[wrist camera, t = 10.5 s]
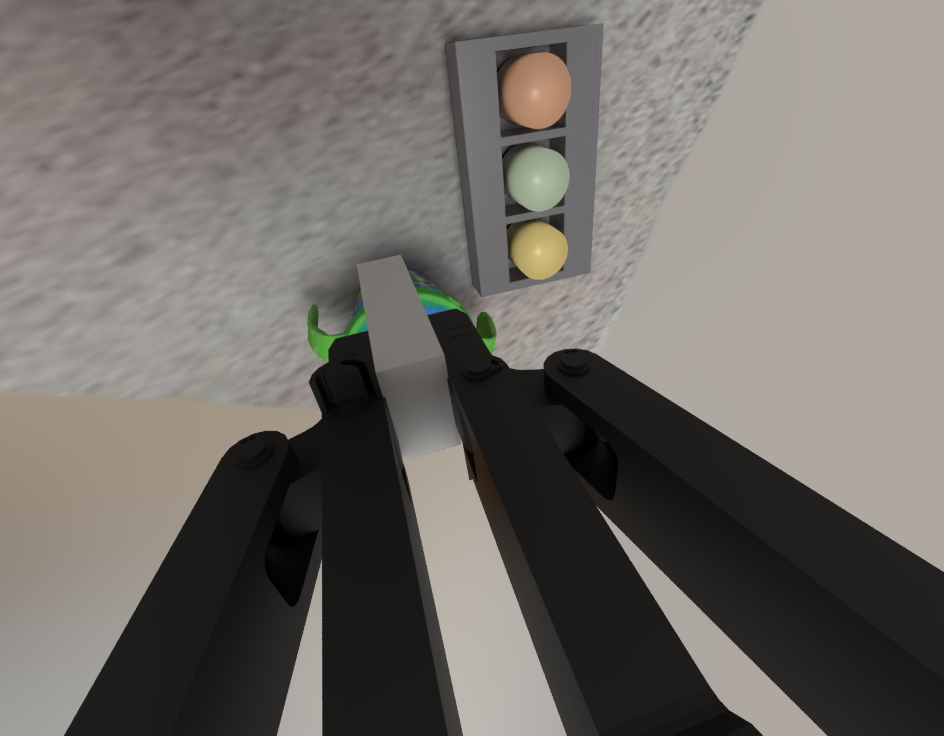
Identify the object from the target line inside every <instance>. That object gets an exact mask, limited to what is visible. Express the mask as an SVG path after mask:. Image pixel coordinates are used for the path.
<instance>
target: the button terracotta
mask: <svg viewBox="0 0 944 736" xmlns="http://www.w3.org/2000/svg"><path fill="white" fill-rule="evenodd" d="M497 85H498V101H499V113H500V115H501V116H502V117H503V118H504V119H505V120H507V121H508V122H510V123H513V124H517V125H521V126H525V127H529V128H533V129H543V128H547V127H549V126H551V125H553V124H554V123H555V122H557V121H558V120H559V119H560V117H561V116H562V115H563V113H564V112H565V110H566V108H567V106H568V103H569V100H570V96H571V78H570V74H569V71H568V69H567V67H566V65H565V64H564V62H563V61H562V60H561V59H560V58H559V57H557V56H556V55H554V54H551V53H547V52H541V53H532V54H523V55H517V56H514V57H512V58H510V59H509V60H507V61H506V62H505V63H504V64H503V65H502V66H501V68H500V69H499V71H498V73H497Z"/></svg>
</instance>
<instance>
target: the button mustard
mask: <svg viewBox="0 0 944 736" xmlns="http://www.w3.org/2000/svg"><path fill="white" fill-rule="evenodd" d="M507 248H508V258H509V259H510V260H511V261H512V262H513V263H514V264H515V265H516V266H517V267H518V268H519V269H520V270H521V271H522V272H523V273H524V274H525V275H526V276H528V277H529V278H531V279H535V280H542V279H546V278H549V277H551V276H553V275H554V274H556V273H557V272H558V271H559V270H560V269H561V267H562V266H563V264H564V263H565V260H566V258H567V254H568V244H567V240H566V238H565V236H564V235H563V234H562V233H561V232H560V231H558V230H557V229H555V228H554V227H552V226H551V225H549V224H548V223H546V222H545V221H543V220H542V219H540V218H535V219H530V220H525V221H520V222H515V223H512V224H511V225H510V226H509V228H508V229H507Z"/></svg>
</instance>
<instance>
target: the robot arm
mask: <svg viewBox="0 0 944 736" xmlns="http://www.w3.org/2000/svg"><path fill="white" fill-rule="evenodd" d="M356 265H357V271H358V276H359V282H360V287H361V293H362V299H363V304H364V310H365V316H366V321H367V327H368V331H364V332H360V333H356V334H352V335H348V336H343V337H339V338H335V340H334V341H333V343H332V345H331V346H330V348H329V349H328V360H329V362H328V363H326V364H324V365H323V366H321V367H319V368H318V369H317V370H316V371H315V372H314V373H313V374H312V376H311V378H310V381H309V384H310V386H311V389H312V391H313V394H314V396H315V398H316V401H317V403H318V405H319V408H320V410H321V412H322V419H321V420H320V421H319V422H318V423H317V424H315V425H314V426H313V427H312V428H310V429H308V430H306V431H305V432H303V433H301V434H299V435H297V436H295V437H293V438H291V439H289V440H288V439H287V437H286V436H285V435H284V434H282V433H280V432H278V431H263V432H259V433H255V434H252V435H250V436H248V437H246V438H244V439H242V440H240V441H239V442H237V443H236V444H235V445H233V446H232V447H231V448H229V450H228V451H227V452H226V453H225V455H224V456H223V457H222V458H221V460H220V462H219V464H218V465H217V467H216V469H215V471H214V472H213V474H212V476H211V478H210V480H209V481H208V483H207V485H206V486H205V488H204V490H203V492H202V494H201V495H200V497H199V499H198V501H197V502H196V504H195V506H194V508H193V509H192V511H191V513H190V515H189V516H188V518H187V520H186V522H185V524H184V525H183V527H182V529H181V531H180V532H179V534H178V536H177V538H176V539H175V541H174V543H173V545H172V546H171V548H170V550H169V552H168V554H167V555H166V557H165V559H164V560H163V562H162V564H161V566H160V568H159V569H158V571H157V573H156V575H155V576H154V578H153V580H152V582H151V583H150V585H149V587H148V589H147V590H146V593H145V594H144V596H143V597H142V599H141V601H140V603H139V604H138V606H137V608H136V610H135V612H134V613H133V615H132V617H131V619H130V620H129V622H128V624H127V626H126V627H125V629H124V631H123V633H122V634H121V636H120V638H119V640H118V641H117V643H116V645H115V647H114V649H113V650H112V652H111V654H110V656H109V657H108V659H107V661H106V663H105V664H104V666H103V668H102V670H101V672H100V673H99V675H98V677H97V679H96V680H95V682H94V684H93V686H92V687H91V689H90V691H89V693H88V694H87V696H86V698H85V700H84V701H83V703H82V705H81V707H80V708H79V710H78V712H77V714H76V716H75V717H74V719H73V721H72V723H71V724H70V726H69V728H68V730H67V731H66V733H65V735H64V736H277V732H278V728H279V724H280V721H281V717H282V713H283V709H284V705H285V701H286V697H287V693H288V689H289V685H290V681H291V677H292V673H293V669H294V665H295V662H296V658H297V654H298V650H299V646H300V642H301V638H302V634H303V630H304V626H305V622H306V618H307V614H308V611H309V607H310V603H311V599H312V595H313V591H314V587H315V583H316V579H317V576H318V572H319V568H320V564H321V560H322V699H323V700H322V723H323V724H322V726H323V727H322V730H323V731H322V735H323V736H463V733H462V728H461V724H460V719H459V715H458V710H457V705H456V700H455V696H454V692H453V687H452V682H451V677H450V673H449V668H448V663H447V659H446V654H445V649H444V645H443V640H442V635H441V631H440V626H439V621H438V617H437V612H436V607H435V603H434V598H433V594H432V589H431V584H430V580H429V575H428V570H427V565H426V561H425V556H424V551H423V547H422V542H421V538H420V533H419V528H418V524H417V519H416V514H415V509H414V505H413V500H412V496H411V491H410V486H409V482H408V477H407V474H406V470H405V467H404V464H403V461H405V460H408V459H412V458H415V457H418V456H422V455H425V454H429V453H432V452H435V451H439V450H442V449H446V448H449V447H452V446H456V445H459V444H461V441H460V438H461V440H462V443H463V448H464V453H465V459H466V464H467V469H468V475H469V480H472V479H473V481H474V484H475V486H476V489H477V492H478V494H479V497H480V500H481V502H482V505H483V508H484V511H485V514H486V516H487V519H488V522H489V524H490V527H491V530H492V532H493V535H494V538H495V541H496V543H497V546H498V549H499V552H500V554H501V557H502V560H503V562H504V565H505V568H506V570H507V574H508V576H509V579H510V582H511V584H512V587H513V590H514V593H515V595H516V598H517V601H518V603H519V606H520V609H521V611H522V614H523V617H524V620H525V622H526V625H527V628H528V631H529V633H530V636H531V639H532V642H533V644H534V647H535V650H536V653H537V655H538V658H539V661H540V663H541V666H542V669H543V671H544V674H545V677H546V680H547V683H548V685H549V688H550V690H551V693H552V696H553V699H554V702H555V704H556V707H557V710H558V713H559V715H560V718H561V721H562V723H563V726H564V729H565V732H566V734H567V736H763V735H762V734H761V733H760V732H759V731H758V730H757V729H756V728H755V727H754V726H753V725H752V724H751V723H749V722H748V721H746V720H744V719H742V718H741V717H739V716H738V715H736V714H734V713H733V712H731V711H729V710H728V709H727V708H726V707H725V706H724V705H723V703H722V702H721V701H720V700H719V699H718V697H717V696H716V695H715V693H714V692H713V691H712V689H711V688H710V686H709V684H708V683H707V682H706V680H705V678H704V676H703V675H702V673H701V672H700V670H699V669H698V667H697V665H696V664H695V662H694V661H693V659H692V658H691V656H690V654H689V653H688V651H687V650H686V648H685V647H684V645H683V643H682V642H681V640H680V638H679V637H678V635H677V634H676V632H675V630H674V629H673V627H672V626H671V624H670V623H669V621H668V619H667V618H666V616H665V615H664V613H663V611H662V610H661V608H660V607H659V605H658V603H657V602H656V600H655V599H654V597H653V595H652V594H651V592H650V591H649V589H648V588H647V586H646V584H645V583H644V581H643V580H642V578H641V576H640V575H639V573H638V572H637V570H636V568H635V567H634V565H633V564H632V562H631V561H630V559H629V557H628V556H627V554H626V553H625V551H624V549H623V548H622V546H621V545H620V543H619V541H618V540H617V538H616V537H615V535H614V534H613V532H612V530H611V529H610V527H609V526H608V524H607V522H606V521H605V519H604V518H603V516H602V514H601V513H600V511H599V510H598V508H599V509H600V510H601V511H602V512H603V513H604V514H605V515H606V516H607V517H608V518H609V519H610V520H611V521H612V522H613V523H614V524H615V525H616V526H617V527H618V528H619V529H620V530H621V531H622V532H623V533H624V534H625V535H626V536H627V537H628V538H629V539H630V540H631V541H632V542H633V543H634V544H635V545H636V546H637V547H638V548H639V549H640V550H641V551H642V552H643V553H644V554H645V555H646V556H647V557H648V558H649V559H650V560H651V561H652V562H653V563H654V564H655V565H657V566H658V568H659V569H660V570H662V572H663V573H664V574H665V575H666V576H667V577H669V578H670V580H671V581H672V582H674V584H675V585H676V586H677V587H679V589H681V590H682V591H683V592H684V593H685V594H686V595H687V596H688V597H689V598H690V599H691V600H692V601H693V602H694V603H695V604H696V605H697V606H698V607H699V608H700V609H701V610H702V611H703V612H704V613H705V614H706V615H707V616H708V617H709V618H710V619H711V620H712V621H713V622H714V623H715V624H716V625H717V626H718V627H719V628H720V629H721V630H722V631H723V632H724V633H725V634H726V635H727V636H728V637H729V638H730V639H731V640H732V641H733V642H734V643H735V644H736V645H737V646H738V647H739V648H740V649H741V650H742V651H743V652H744V653H745V654H746V655H747V656H748V657H749V658H750V659H751V660H752V661H753V662H754V663H755V664H756V665H757V666H758V667H759V668H760V669H761V670H762V671H763V672H764V673H765V674H766V675H767V676H768V677H769V678H770V679H771V680H772V681H773V682H774V683H775V684H776V685H777V686H778V687H779V688H780V689H781V690H782V691H783V692H784V693H785V694H786V695H787V696H788V697H789V698H790V699H791V700H792V701H793V702H794V703H795V704H796V705H797V706H798V707H799V708H800V709H801V710H802V711H804V713H805V714H806V715H807V716H808V717H809V718H810V719H811V720H813V722H814V723H815V724H817V726H818V727H819V728H820V729H822V731H823V732H824V733H825V734H826V735H827V736H944V572H943V571H941V570H939V569H938V568H936V567H935V566H933V565H932V564H930V563H928V562H927V561H925V560H924V559H922V558H920V557H919V556H917V555H916V554H914V553H912V552H911V551H909V550H907V549H906V548H904V547H903V546H901V545H900V544H898V543H896V542H895V541H893V540H892V539H890V538H889V537H887V536H885V535H884V534H882V533H881V532H879V531H877V530H875V529H874V528H873V527H871V526H869V525H868V524H866V523H865V522H863V521H861V520H860V519H858V518H857V517H855V516H853V515H852V514H850V513H849V512H847V511H845V510H844V509H842V508H841V507H839V506H837V505H836V504H834V503H833V502H831V501H830V500H828V499H826V498H824V497H823V496H822V495H820V494H818V493H817V492H815V491H814V490H812V489H810V488H809V487H807V486H806V485H804V484H802V483H801V482H799V481H798V480H796V479H794V478H793V477H791V476H790V475H788V474H786V473H785V472H783V471H782V470H780V469H779V468H777V467H775V466H774V465H772V464H770V463H769V462H767V461H766V460H764V459H763V458H761V457H759V456H758V455H756V454H755V453H753V452H751V451H750V450H748V449H747V448H745V447H743V446H742V445H740V444H738V443H737V442H736V441H734V440H732V439H731V438H729V437H728V436H726V435H724V434H723V433H721V432H720V431H718V430H716V429H715V428H713V427H712V426H710V425H708V424H707V423H705V422H704V421H702V420H700V419H699V418H697V417H696V416H694V415H692V414H691V413H689V412H688V411H686V410H684V409H683V408H681V407H680V406H678V405H677V404H675V403H673V402H672V401H670V400H669V399H667V398H665V397H664V396H662V395H660V394H659V393H657V392H656V391H654V390H653V389H651V388H649V387H648V386H646V385H645V384H643V383H641V382H640V381H638V380H637V379H635V378H634V377H632V376H630V375H628V374H627V373H626V372H624V371H622V370H621V369H619V368H618V367H616V366H614V365H613V364H611V363H610V362H608V361H606V360H605V359H603V358H602V357H600V356H598V355H597V354H595V353H592V352H590V351H588V350H582V349H564V350H561V351H557V352H554V353H553V354H551V355H550V356H548V357H547V359H546V360H545V362H544V369H538V370H516V369H511V368H509V367H508V365H507V364H506V363H505V362H504V361H503V360H502V359H501V358H498V357H496V356H493V355H492V354H491V353H490V351H489V349H488V348H487V346H486V344H485V343H484V341H483V339H482V338H481V336H480V334H479V333H478V332H477V329H476V328H475V326H474V325H473V323H472V321H471V320H470V318H469V316H468V315H467V314H466V313H464V312H462V311H460V310H458V309H456V308H455V309H450V310H446V311H442V312H438V313H434V314H430V315H427V314H426V311H425V309H424V307H423V305H422V302H421V300H420V298H419V295H418V293H417V291H416V288H415V286H414V284H413V281H412V279H411V277H410V275H409V272H408V270H407V268H406V265H405V263H404V261H403V258H402V256H401V255H397V256H392V257H387V258H383V259H378V260H374V261H369V262H364V263H360V264H356ZM459 435H460V436H459ZM596 506H597V507H598V508H597V507H596Z"/></svg>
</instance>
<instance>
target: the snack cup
mask: <svg viewBox="0 0 944 736" xmlns="http://www.w3.org/2000/svg"><path fill="white" fill-rule="evenodd" d="M407 270H408V272H409V275H410V277H411V279H412V281H413V284H414V286H415V288H416V291H417V293H418V295H419V298H420V300H421V302H422V305H423V307H424V309H425V311H426V314H427V315H430V314H434V313H438V312H442V311H446V310H450V309H455V308H456V309H458V310H460V311H462V312H464V313H466V314H467V312H466V311H465V310H464V309H463V307H462V306H461V304H460V302H459V301H458V300H457V299H455V298H454V297H452V296H450V295H448V294H445V293H442V292H441V291H440V290H439V289H438V288H437V287H436V286H435V285H434V284H433V283H432V282H431V281H430V280H429V279H427V278H426V277H425V276H424V275H423V274H421V273H419V272H418V271H414V270H411V269H408V268H407ZM467 315H468V314H467ZM468 316H469V315H468ZM469 318H470V317H469ZM470 320H471V318H470ZM471 321H472V320H471ZM472 323H473V322H472ZM473 325H474V324H473ZM476 329H477V332H478V333H479V334H480V336H481V338H482V339H483V341H484V343H485V344H486V346H487V348H488V349H489V351H490V353H491V354H492V353H493V350H494V344H495V341H496V329H495V325H494V323H493V321H492V318H491V317H490V316H489V314H488V313H486V312H481V313H480V314H479V316H478V318H477V325H476ZM364 331H368V327H367V321H366V316H365V310H364V304H363V299H362V293H361V290H360V292H359V295H358V298H357V302H356V306H355V311H354V315H353V319H352V320H351V322H350V324H349V326H348V328H347V330H346V331H344V332H343V333H341V334H337V335H328V334H326V333H325V332H323V331H322V330H320V329H319V328H318V307H317V305H315V304H314V305H312V307H311V308H310V310H309V313H308V340H309V344H310V346H311V348H312V349H313V351H314V352H315V353H316V354H317V355H318V356H319V357H321V358H322V359H323V360H324V361H326V362H329V360H328V349H329V348H330V346H331V345H332V343H333V341H334V340H335V338H339V337H343V336H348V335H352V334H356V333H360V332H364Z"/></svg>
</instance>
